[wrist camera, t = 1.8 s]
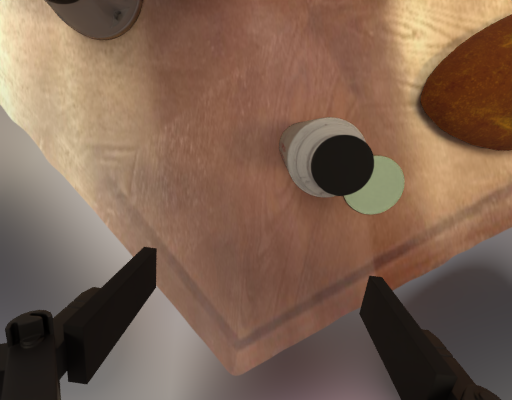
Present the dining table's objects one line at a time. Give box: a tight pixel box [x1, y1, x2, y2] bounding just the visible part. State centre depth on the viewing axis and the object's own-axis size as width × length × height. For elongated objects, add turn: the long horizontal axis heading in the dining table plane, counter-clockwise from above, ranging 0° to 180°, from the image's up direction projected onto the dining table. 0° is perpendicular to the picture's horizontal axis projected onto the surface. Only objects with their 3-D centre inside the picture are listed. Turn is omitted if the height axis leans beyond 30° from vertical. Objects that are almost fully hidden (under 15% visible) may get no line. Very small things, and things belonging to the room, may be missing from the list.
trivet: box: [344, 155, 404, 214], centre depth 48 cm, size 11×11×1 cm
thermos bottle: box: [279, 117, 374, 197], centre depth 34 cm, size 8×8×28 cm
